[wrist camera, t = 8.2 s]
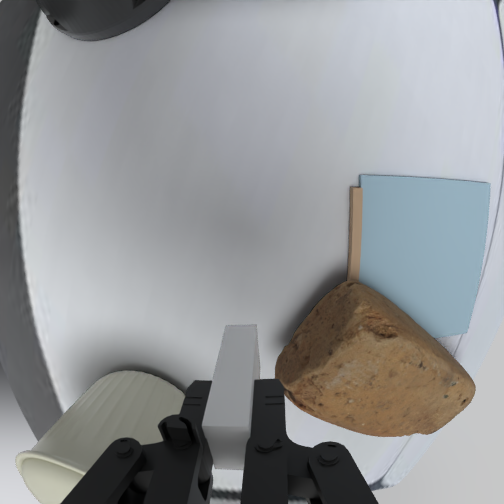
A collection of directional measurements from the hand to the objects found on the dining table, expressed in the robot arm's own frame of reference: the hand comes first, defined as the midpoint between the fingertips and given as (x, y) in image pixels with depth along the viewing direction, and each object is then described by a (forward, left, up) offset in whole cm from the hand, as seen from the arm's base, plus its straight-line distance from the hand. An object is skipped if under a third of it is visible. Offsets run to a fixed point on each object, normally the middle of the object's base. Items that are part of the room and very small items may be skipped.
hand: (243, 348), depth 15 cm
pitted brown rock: (+4, +4, -7) cm, 9 cm away
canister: (+17, -13, -12) cm, 25 cm away
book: (0, +16, -12) cm, 20 cm away
